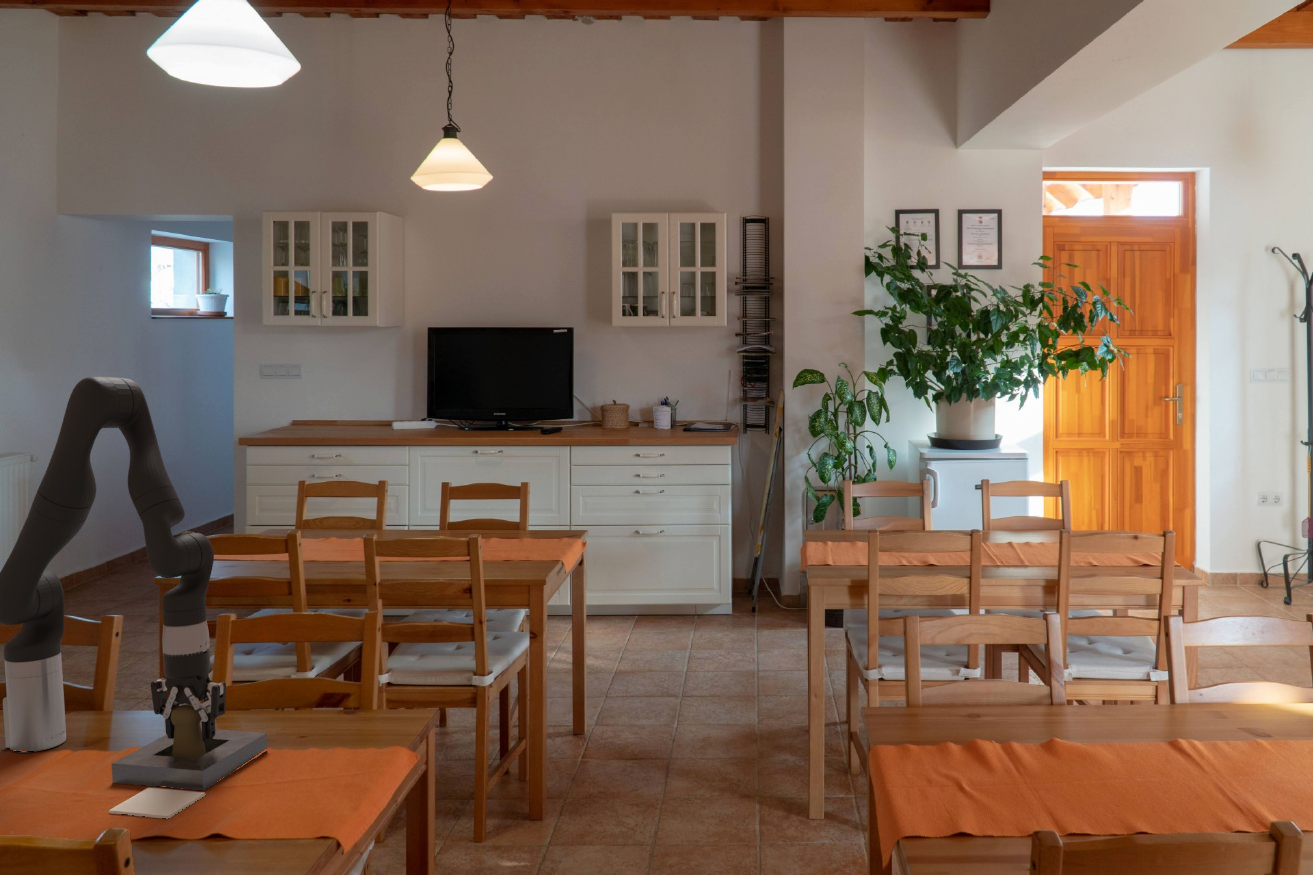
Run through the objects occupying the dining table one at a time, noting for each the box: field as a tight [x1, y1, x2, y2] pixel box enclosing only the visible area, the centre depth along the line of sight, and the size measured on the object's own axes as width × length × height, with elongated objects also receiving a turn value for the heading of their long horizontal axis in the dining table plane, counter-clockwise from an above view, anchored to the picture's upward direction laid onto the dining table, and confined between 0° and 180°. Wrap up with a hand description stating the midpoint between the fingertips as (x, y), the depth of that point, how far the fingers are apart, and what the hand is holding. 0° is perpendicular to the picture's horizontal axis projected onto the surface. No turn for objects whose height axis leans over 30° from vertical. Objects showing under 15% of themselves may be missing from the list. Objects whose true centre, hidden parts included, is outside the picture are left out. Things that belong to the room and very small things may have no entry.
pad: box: [108, 787, 206, 820], centre depth 168 cm, size 11×9×1 cm
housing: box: [111, 727, 268, 791], centre depth 184 cm, size 18×18×4 cm
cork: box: [171, 704, 206, 759], centre depth 184 cm, size 6×6×11 cm
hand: (190, 738), depth 184 cm, fingers open, 6 cm apart
